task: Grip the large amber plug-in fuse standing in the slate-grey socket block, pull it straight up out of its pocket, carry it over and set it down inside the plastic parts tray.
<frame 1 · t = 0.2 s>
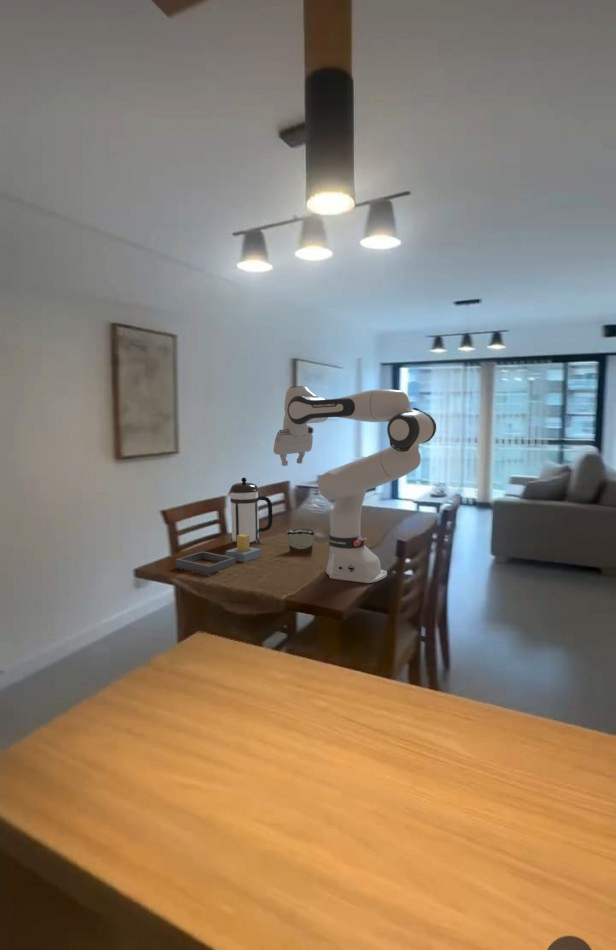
hand: (292, 464, 212), 39 cm above the table, tool pointing down, fingers open, 8 cm apart
socket block: (243, 559, 221), on the table
food container: (301, 552, 232), on the table
coffee press: (248, 543, 249), on the table
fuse: (243, 557, 221), point 1 cm above the table, touching socket block
parts tray: (205, 567, 211), on the table
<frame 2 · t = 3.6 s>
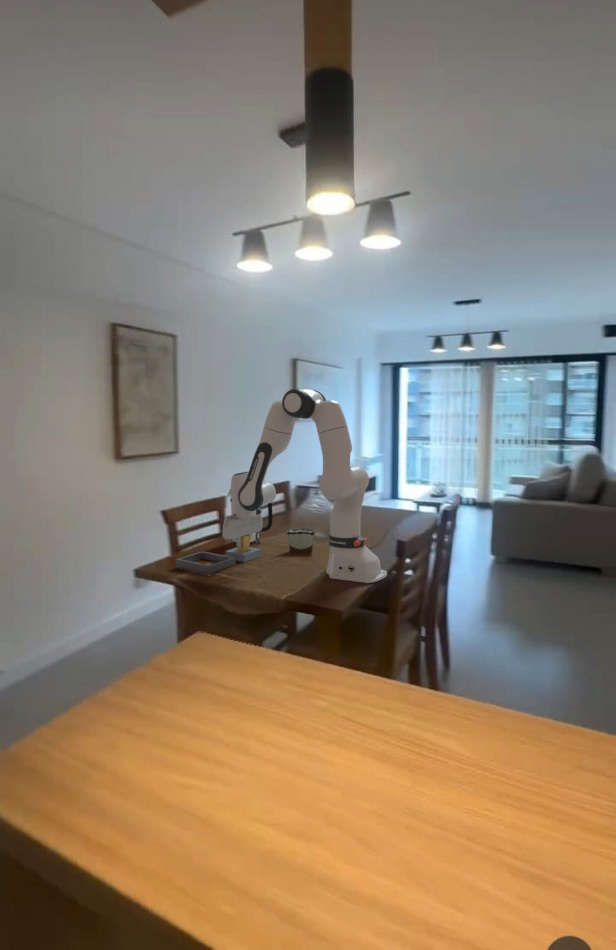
hand: (243, 546, 220), 6 cm above the table, tool pointing down, fingers closed on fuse, 3 cm apart
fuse: (243, 557, 221), point 1 cm above the table, touching gripper, socket block
everything else where it was.
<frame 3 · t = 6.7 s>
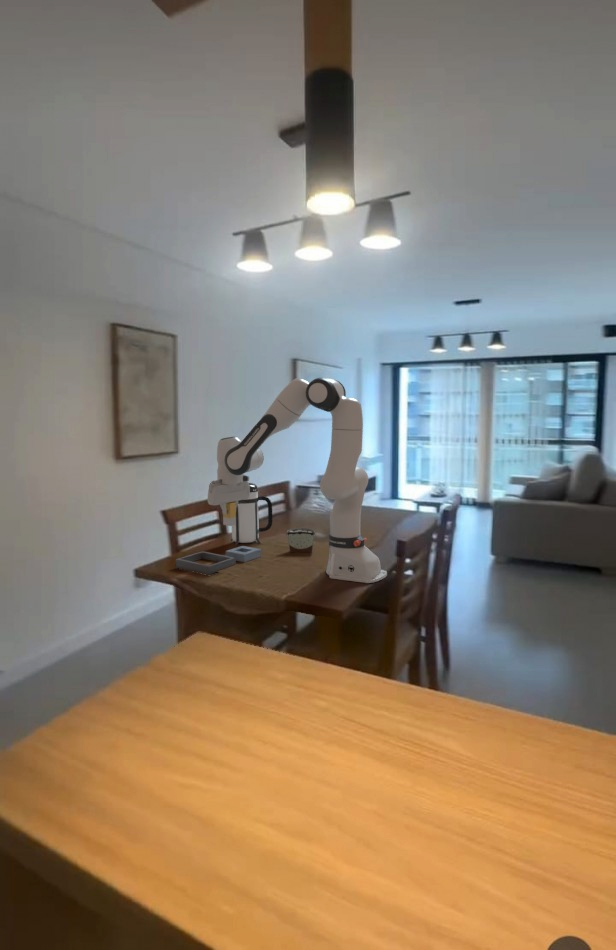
hand: (229, 513, 216), 20 cm above the table, tool pointing down, fingers closed on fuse, 3 cm apart
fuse: (229, 524, 216), point 15 cm above the table, touching gripper
everything else where it was.
when the fingers open (7 cm above the table, at t = 9.9 s): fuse drops 2 cm, resting on parts tray.
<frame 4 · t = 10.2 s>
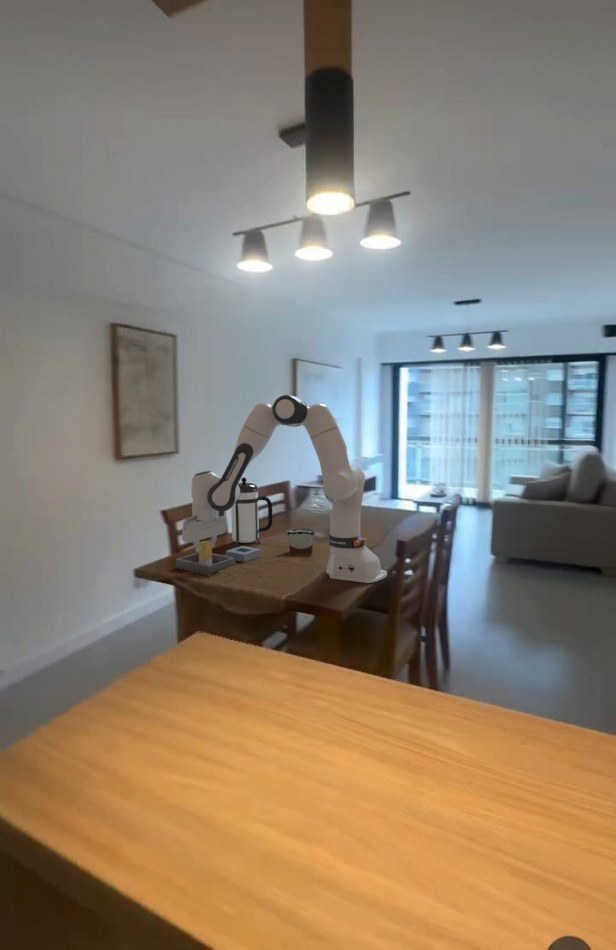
hand: (205, 549, 210), 7 cm above the table, tool pointing down, fingers open, 5 cm apart
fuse: (205, 565, 211), point 1 cm above the table, touching parts tray
everything else where it was.
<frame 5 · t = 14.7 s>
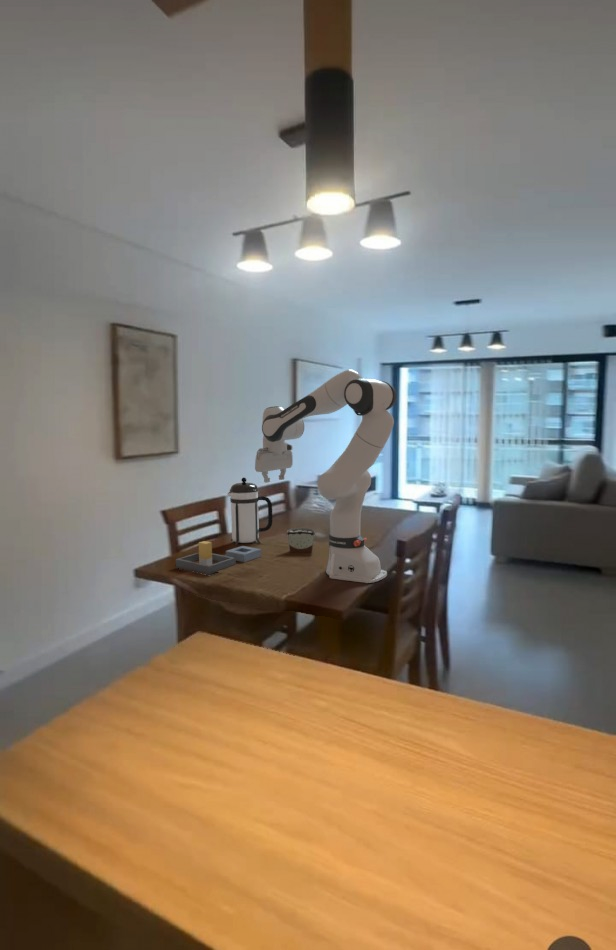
hand: (274, 481, 223), 31 cm above the table, tool pointing down, fingers open, 8 cm apart
nothing on the table moved.
at the end: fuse inside the target area on the parts tray (0.0 cm from its centre), point 0.8 cm above the parts tray's base; the gripper is holding nothing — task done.
